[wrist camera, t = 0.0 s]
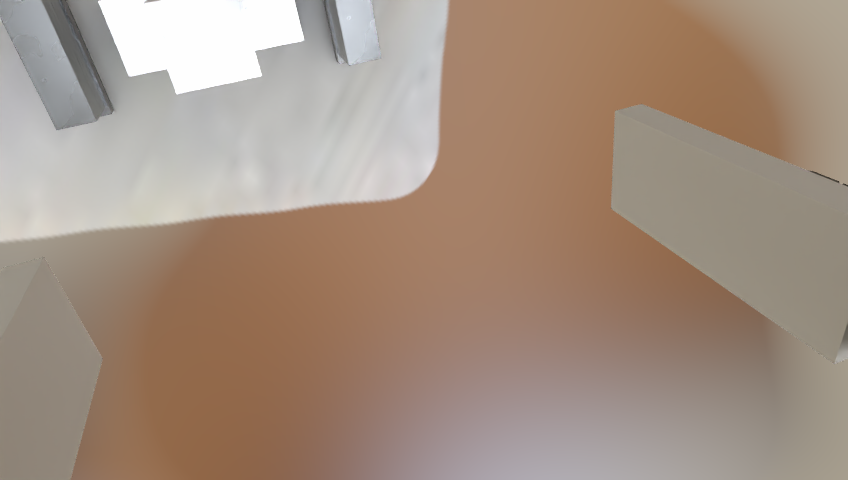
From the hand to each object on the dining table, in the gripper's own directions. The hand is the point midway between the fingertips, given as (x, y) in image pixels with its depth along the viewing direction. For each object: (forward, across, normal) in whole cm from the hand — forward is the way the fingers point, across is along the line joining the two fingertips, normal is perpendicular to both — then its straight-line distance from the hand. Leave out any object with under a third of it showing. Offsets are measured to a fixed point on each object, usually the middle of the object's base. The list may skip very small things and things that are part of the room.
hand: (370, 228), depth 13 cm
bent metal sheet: (+26, -3, +2) cm, 27 cm away
